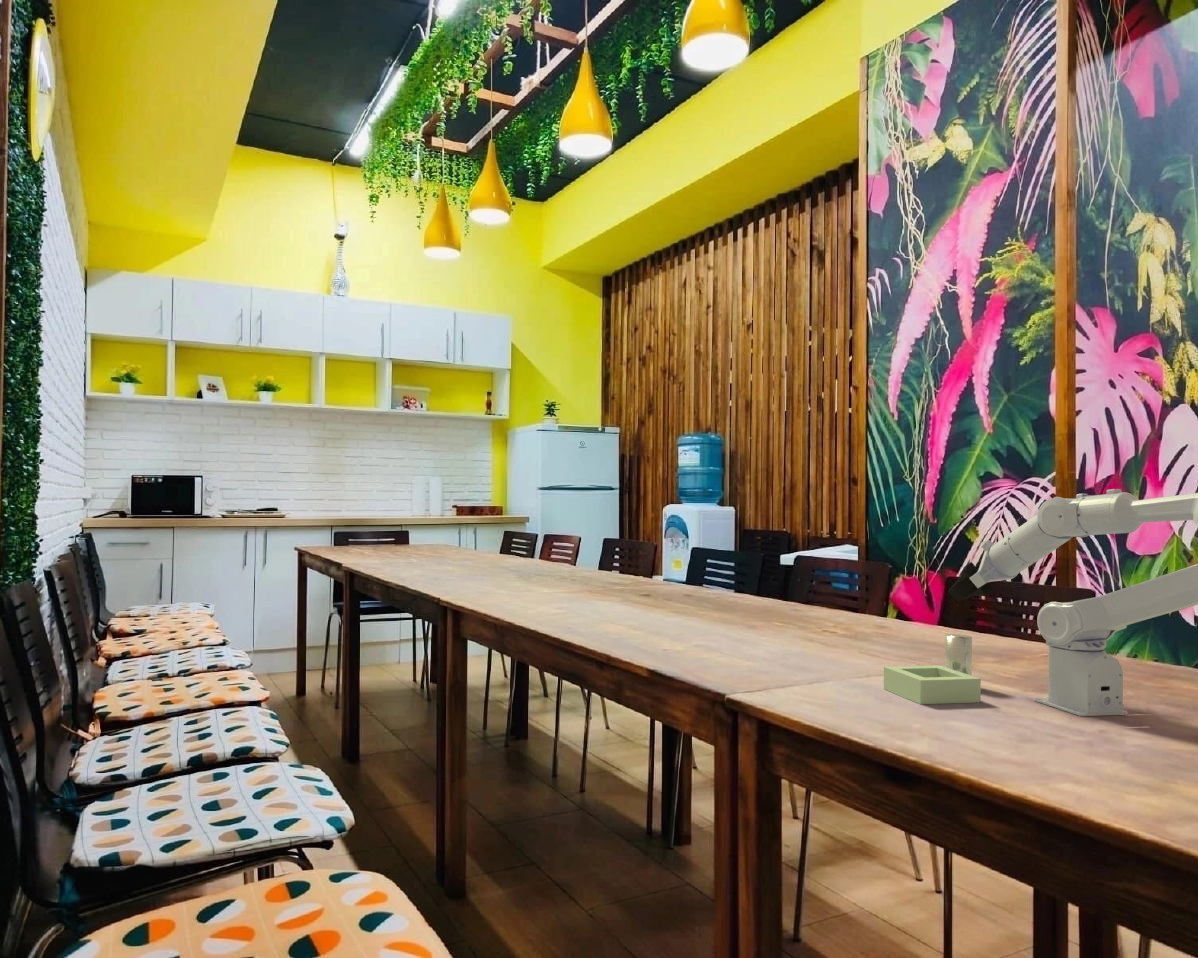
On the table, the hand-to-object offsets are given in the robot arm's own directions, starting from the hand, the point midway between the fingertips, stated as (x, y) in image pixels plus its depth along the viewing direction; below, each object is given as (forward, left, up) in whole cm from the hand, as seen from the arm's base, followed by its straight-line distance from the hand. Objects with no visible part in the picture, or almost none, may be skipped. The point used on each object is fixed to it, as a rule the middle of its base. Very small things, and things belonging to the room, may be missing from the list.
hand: (964, 586), depth 144 cm
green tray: (-11, +14, -16) cm, 23 cm away
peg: (-5, +5, -16) cm, 17 cm away
